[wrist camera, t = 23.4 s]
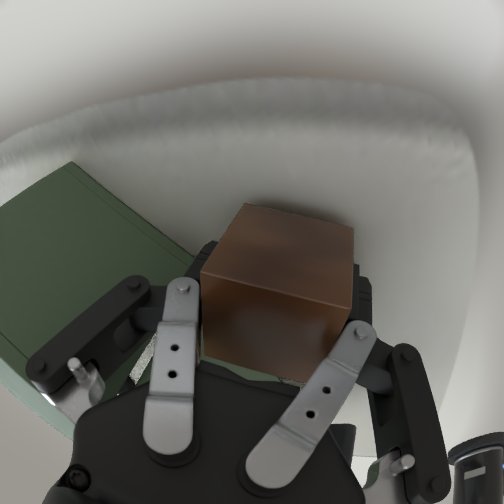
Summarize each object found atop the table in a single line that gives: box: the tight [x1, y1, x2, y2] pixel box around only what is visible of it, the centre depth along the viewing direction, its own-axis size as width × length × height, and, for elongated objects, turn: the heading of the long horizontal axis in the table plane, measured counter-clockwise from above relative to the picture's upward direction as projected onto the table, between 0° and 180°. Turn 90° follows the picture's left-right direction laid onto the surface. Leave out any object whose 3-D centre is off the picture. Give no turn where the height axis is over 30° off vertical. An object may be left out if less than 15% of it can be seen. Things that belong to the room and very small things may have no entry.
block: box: [200, 203, 354, 383], centre depth 13 cm, size 5×5×5 cm
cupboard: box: [0, 162, 195, 441], centre depth 18 cm, size 11×16×12 cm
